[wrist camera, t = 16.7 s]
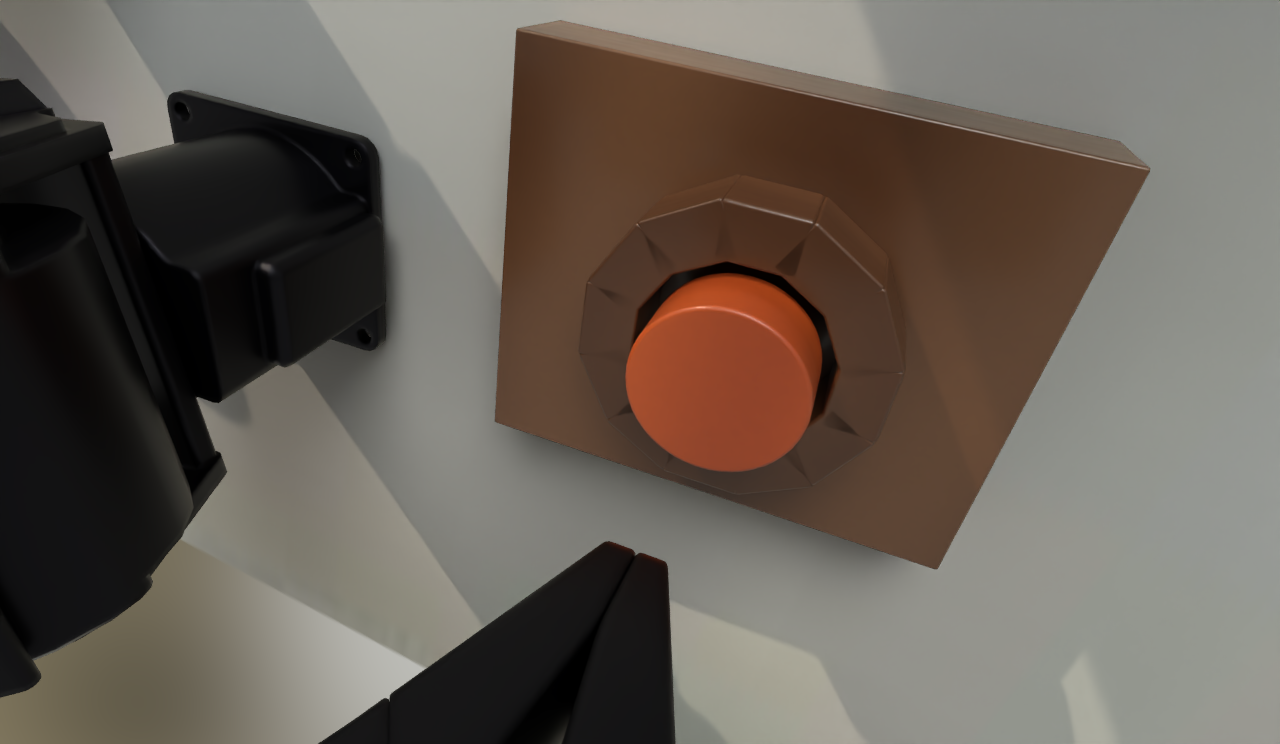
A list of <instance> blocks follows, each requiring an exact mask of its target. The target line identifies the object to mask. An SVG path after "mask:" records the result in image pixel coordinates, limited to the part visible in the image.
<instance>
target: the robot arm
mask: <svg viewBox="0 0 1280 744" xmlns="http://www.w3.org/2000/svg"><path fill="white" fill-rule="evenodd" d="M167 106H168V112H169V117H170V123H171V128H172V133H173V138H174V144H172V145H168V146H164V147H160V148H156V149H152V150H148V151H144V152H140V153H136V154H132V155H128V156H125V157H121V158H117V159H113V160H111V158H110V155H109V152H111V151H113V148H112V146H111V143H110V140H109V137H108V134H107V132H106V129H105V126H104V123H103V122H94V121H81V120H69V119H61V118H58V117H55V114H54V112H53V109H52V108H47V107H46V106H45V105H44V104H43V103H42V102H41V101H40V100H39V99H38V98H37V97H36V96H35V95H34V94H33V93H32V92H31V91H30V90H29V89H28V88H27V87H25V86H24V85H23V84H22V83H21V82H20V81H19V80H18V79H8V78H0V697H4V696H8V695H12V694H16V693H20V692H23V691H26V690H28V689H30V688H32V687H33V686H34V685H36V684H37V683H38V682H39V680H40V679H41V673H40V671H39V670H38V668H37V666H36V665H35V663H34V661H33V660H36V659H38V658H41V657H43V656H46V655H48V654H50V653H53V652H55V651H57V650H59V649H61V648H63V647H65V646H67V645H68V644H70V643H72V642H74V641H77V640H78V639H80V638H82V637H84V636H86V635H87V634H89V633H90V632H92V631H94V630H95V629H97V628H99V627H101V626H102V625H104V624H106V623H108V622H110V621H112V620H113V619H114V618H115V617H117V616H118V615H119V614H121V613H122V612H124V611H125V610H126V609H128V608H129V607H131V606H132V605H133V604H134V603H136V602H137V601H139V600H140V599H141V598H142V597H143V596H144V595H145V594H146V593H147V591H148V590H149V589H150V588H151V586H152V583H153V581H152V579H151V575H152V574H153V572H154V571H155V569H156V568H157V567H158V566H159V564H160V563H161V562H162V560H163V559H164V557H165V556H166V555H167V554H168V552H169V551H170V550H171V549H172V548H173V546H174V545H175V544H176V543H177V542H178V541H179V540H180V538H181V537H182V536H183V533H184V530H185V529H186V528H187V526H188V525H189V524H190V522H191V521H192V519H193V518H194V517H195V515H196V514H197V513H198V511H199V510H200V509H201V507H202V506H203V505H204V503H205V502H206V501H207V499H208V498H209V496H210V495H211V494H212V492H213V491H214V490H215V488H216V487H217V486H218V484H219V483H220V482H221V480H222V479H223V477H224V476H225V475H226V473H227V470H226V467H225V464H224V462H223V459H222V456H221V453H220V452H217V451H215V448H214V446H213V443H212V440H211V437H210V434H209V432H208V429H207V426H206V423H205V420H204V418H203V415H202V412H201V409H200V406H199V404H198V401H197V397H200V398H203V399H205V400H208V401H211V402H214V403H219V402H221V401H222V400H224V399H226V398H227V397H229V396H230V395H232V394H233V393H235V392H236V391H238V390H240V389H241V388H243V387H244V386H246V385H247V384H249V383H250V382H252V381H254V380H255V379H257V378H258V377H260V376H261V375H263V374H264V373H266V372H268V371H269V370H271V369H272V368H274V367H275V366H277V365H279V366H282V367H288V366H291V365H292V364H294V363H295V362H297V361H298V360H300V359H301V358H303V357H304V356H306V355H307V354H309V353H310V352H312V351H313V350H315V349H317V348H318V347H320V346H321V345H323V344H324V343H326V342H327V341H329V340H330V339H332V340H335V341H338V342H341V343H344V344H348V345H351V346H354V347H357V348H360V349H363V350H368V351H371V350H374V349H376V348H377V347H378V346H380V345H381V344H382V343H383V342H384V341H385V338H386V322H385V301H386V291H385V267H384V242H383V226H382V223H381V202H380V178H379V157H378V153H377V150H376V148H375V146H374V144H373V143H372V142H371V141H370V140H369V139H368V138H366V137H364V136H362V135H359V134H355V133H351V132H347V131H343V130H340V129H336V128H332V127H328V126H324V125H321V124H317V123H313V122H309V121H305V120H302V119H298V118H294V117H290V116H286V115H283V114H279V113H275V112H271V111H267V110H264V109H260V108H256V107H252V106H248V105H245V104H241V103H237V102H233V101H229V100H225V99H222V98H218V97H214V96H210V95H206V94H203V93H199V92H195V91H191V90H184V91H179V92H174V93H172V94H171V95H169V98H168V100H167ZM186 106H187V107H186ZM187 108H188V109H189V112H190V113H189V112H188V110H187ZM355 149H356V150H357V151H358V152H359V154H360V156H361V162H359V161H358V159H357V158H356V157H355V153H354V150H355ZM365 330H366V331H368V333H369V334H370V336H371V337H370V336H368V334H367V333H366V331H365ZM319 744H675V720H674V697H673V674H672V651H671V628H670V605H669V582H668V566H667V564H666V562H665V561H663V560H660V559H657V558H654V557H652V556H649V555H646V554H643V553H638V554H637V555H635V552H634V551H633V550H632V549H630V548H627V547H624V546H621V545H619V544H616V543H613V542H610V541H608V542H604V543H602V544H601V545H599V546H598V547H596V548H595V549H594V550H592V551H591V552H589V553H588V554H587V555H585V556H584V557H582V558H581V559H580V560H578V561H577V562H575V563H574V564H573V565H571V566H570V567H568V568H567V569H566V570H564V571H563V572H561V573H560V574H559V575H557V576H556V577H554V578H553V579H551V580H550V581H549V582H547V583H546V584H544V585H543V586H542V587H540V588H539V589H537V590H536V591H535V592H533V593H532V594H530V595H529V596H528V597H526V598H525V599H523V600H522V601H521V602H519V603H518V604H516V605H515V606H514V607H512V608H511V609H509V610H508V611H506V612H505V613H504V614H502V615H501V616H499V617H498V618H497V619H495V620H494V621H492V622H491V623H490V624H488V625H487V626H485V627H484V628H483V629H481V630H480V631H478V632H477V633H476V634H474V635H473V636H471V637H470V638H469V639H467V640H466V641H464V642H463V643H462V644H460V645H459V646H457V647H456V648H454V649H453V650H452V651H450V652H449V653H447V654H446V655H445V656H443V657H442V658H440V659H439V660H438V661H436V662H435V663H433V664H432V665H431V666H429V667H428V668H426V669H425V670H424V671H422V672H421V673H419V674H418V675H417V676H415V677H414V678H412V679H411V680H410V681H408V682H407V683H405V684H404V685H403V686H401V687H400V688H398V689H397V690H395V691H394V692H393V693H392V694H391V695H390V702H389V699H387V698H384V699H382V700H381V701H379V702H378V703H377V704H375V705H374V706H373V707H371V708H370V709H368V710H367V711H366V712H364V713H363V714H361V715H360V716H359V717H357V718H356V719H354V720H353V721H351V722H350V723H348V724H347V725H345V726H344V727H342V728H341V729H339V730H338V731H336V732H335V733H333V734H332V735H331V736H329V737H328V738H326V739H325V740H323V741H322V742H320V743H319Z"/></svg>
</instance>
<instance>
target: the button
mask: <svg viewBox="0 0 1280 744" xmlns="http://www.w3.org/2000/svg"><path fill="white" fill-rule="evenodd" d="M821 369H822V349H821V344H820V339H819V336H818V333H817V331H816V328H815V326H814V324H813V322H812V321H811V319H810V317H809V316H808V314H807V313H806V312H805V310H804V309H803V308H802V307H801V306H800V305H799V303H798V302H797V301H796V300H795V299H793V298H792V297H791V296H790V295H789V294H787V293H786V292H785V291H783V290H782V289H780V288H779V287H777V286H775V285H773V284H771V283H769V282H767V281H765V280H762V279H759V278H756V277H753V276H749V275H744V274H736V273H717V274H711V275H705V276H702V277H699V278H696V279H693V280H691V281H689V282H687V283H685V284H683V285H682V286H680V287H679V288H677V289H676V290H675V291H674V292H673V293H671V294H670V295H669V296H668V297H667V298H666V300H665V301H664V302H663V303H662V304H661V306H660V307H659V309H658V310H657V311H656V313H655V314H654V315H653V317H652V318H651V320H650V321H649V322H648V324H647V325H646V327H645V328H644V329H643V331H642V332H641V333H640V335H639V336H638V338H637V339H636V341H635V343H634V344H633V346H632V349H631V351H630V353H629V356H628V360H627V364H626V374H625V378H626V390H627V395H628V399H629V402H630V405H631V408H632V410H633V412H634V415H635V417H636V419H637V420H638V422H639V423H640V425H641V426H642V428H643V429H644V430H645V432H646V433H647V434H648V435H649V436H650V437H651V438H652V439H653V440H654V441H655V442H656V443H657V444H658V445H659V446H660V447H662V448H663V449H664V450H665V451H667V452H668V453H670V454H671V455H673V456H674V457H676V458H678V459H680V460H682V461H684V462H686V463H689V464H691V465H694V466H696V467H700V468H703V469H707V470H713V471H719V472H743V471H748V470H754V469H757V468H760V467H764V466H766V465H768V464H770V463H773V462H774V461H776V460H778V459H779V458H781V457H782V456H784V455H785V454H786V453H788V452H789V451H790V450H791V449H792V448H793V447H794V446H795V445H796V444H797V443H798V442H799V441H800V439H801V437H802V436H803V434H804V433H805V431H806V429H807V427H808V424H809V422H810V418H811V414H812V410H813V406H814V401H815V397H816V392H817V388H818V383H819V379H820V374H821Z"/></svg>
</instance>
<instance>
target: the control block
mask: <svg viewBox="0 0 1280 744" xmlns="http://www.w3.org/2000/svg"><path fill="white" fill-rule="evenodd" d="M1149 172H1150V168H1149V167H1148V166H1147V165H1146V164H1145V163H1144V162H1142V161H1141V160H1140V159H1139V158H1138V157H1137V156H1136V155H1135V154H1134V153H1132V152H1131V151H1130V150H1129V149H1128V148H1127V147H1126V146H1125V145H1124V144H1122V143H1121V142H1120V141H1116V140H1112V139H1107V138H1102V137H1098V136H1093V135H1088V134H1084V133H1079V132H1075V131H1070V130H1065V129H1061V128H1056V127H1051V126H1047V125H1042V124H1037V123H1033V122H1028V121H1024V120H1019V119H1014V118H1010V117H1005V116H1000V115H996V114H991V113H987V112H982V111H977V110H973V109H968V108H963V107H959V106H954V105H950V104H945V103H940V102H936V101H931V100H926V99H922V98H917V97H912V96H908V95H903V94H899V93H894V92H889V91H885V90H880V89H875V88H871V87H866V86H862V85H857V84H852V83H848V82H843V81H838V80H834V79H829V78H825V77H820V76H815V75H811V74H806V73H801V72H797V71H792V70H788V69H783V68H778V67H774V66H769V65H764V64H760V63H755V62H750V61H746V60H741V59H737V58H732V57H727V56H723V55H718V54H713V53H709V52H704V51H700V50H695V49H690V48H686V47H681V46H676V45H672V44H667V43H663V42H658V41H653V40H649V39H644V38H639V37H635V36H630V35H625V34H621V33H616V32H612V31H607V30H602V29H598V28H593V27H588V26H584V25H579V24H575V23H570V22H565V21H561V20H560V21H555V22H549V23H544V24H538V25H533V26H528V27H522V28H518V29H517V30H516V45H515V63H514V81H513V99H512V118H511V136H510V154H509V172H508V190H507V209H506V227H505V245H504V263H503V282H502V300H501V318H500V336H499V354H498V373H497V391H496V409H495V422H497V423H500V424H503V425H506V426H509V427H512V428H515V429H518V430H521V431H524V432H527V433H530V434H533V435H536V436H539V437H542V438H544V439H547V440H550V441H553V442H556V443H559V444H562V445H565V446H568V447H571V448H574V449H577V450H580V451H583V452H586V453H589V454H592V455H595V456H598V457H601V458H604V459H607V460H610V461H613V462H616V463H619V464H622V465H625V466H628V467H631V468H634V469H637V470H640V471H643V472H646V473H649V474H652V475H655V476H658V477H661V478H664V479H667V480H670V481H673V482H676V483H679V484H682V485H685V486H688V487H691V488H694V489H697V490H700V491H703V492H706V493H709V494H712V495H715V496H718V497H721V498H724V499H727V500H730V501H733V502H736V503H739V504H742V505H745V506H748V507H751V508H753V509H756V510H759V511H762V512H765V513H768V514H771V515H774V516H777V517H780V518H783V519H786V520H789V521H792V522H795V523H798V524H801V525H804V526H807V527H810V528H813V529H816V530H819V531H822V532H825V533H828V534H831V535H834V536H837V537H840V538H843V539H846V540H849V541H852V542H855V543H858V544H861V545H864V546H867V547H870V548H873V549H876V550H879V551H882V552H885V553H888V554H891V555H894V556H897V557H900V558H903V559H906V560H909V561H912V562H915V563H918V564H921V565H924V566H927V567H930V568H933V569H938V567H939V565H940V563H941V562H942V560H943V558H944V556H945V554H946V552H947V550H948V548H949V547H950V545H951V543H952V541H953V539H954V537H955V535H956V533H957V532H958V530H959V528H960V526H961V524H962V522H963V520H964V519H965V517H966V515H967V513H968V511H969V509H970V507H971V505H972V504H973V502H974V500H975V498H976V496H977V494H978V492H979V490H980V489H981V487H982V485H983V483H984V481H985V479H986V477H987V475H988V474H989V472H990V470H991V468H992V466H993V464H994V462H995V460H996V459H997V457H998V455H999V453H1000V451H1001V449H1002V447H1003V445H1004V444H1005V442H1006V440H1007V438H1008V436H1009V434H1010V432H1011V430H1012V429H1013V427H1014V425H1015V423H1016V421H1017V419H1018V417H1019V415H1020V414H1021V412H1022V410H1023V408H1024V406H1025V404H1026V402H1027V400H1028V399H1029V397H1030V395H1031V393H1032V391H1033V389H1034V387H1035V385H1036V384H1037V382H1038V380H1039V378H1040V376H1041V374H1042V372H1043V371H1044V369H1045V367H1046V365H1047V363H1048V361H1049V359H1050V357H1051V356H1052V354H1053V352H1054V350H1055V348H1056V346H1057V344H1058V342H1059V341H1060V339H1061V337H1062V335H1063V333H1064V331H1065V329H1066V327H1067V326H1068V324H1069V322H1070V320H1071V318H1072V316H1073V314H1074V312H1075V311H1076V309H1077V307H1078V305H1079V303H1080V301H1081V299H1082V297H1083V296H1084V294H1085V292H1086V290H1087V288H1088V286H1089V284H1090V282H1091V281H1092V279H1093V277H1094V275H1095V273H1096V271H1097V269H1098V267H1099V266H1100V264H1101V262H1102V260H1103V258H1104V256H1105V254H1106V252H1107V251H1108V249H1109V247H1110V245H1111V243H1112V241H1113V239H1114V237H1115V236H1116V234H1117V232H1118V230H1119V228H1120V226H1121V224H1122V223H1123V221H1124V219H1125V217H1126V215H1127V213H1128V211H1129V209H1130V208H1131V206H1132V204H1133V202H1134V200H1135V198H1136V196H1137V194H1138V193H1139V191H1140V189H1141V187H1142V185H1143V183H1144V181H1145V179H1146V178H1147V176H1148V174H1149ZM717 273H736V274H744V275H749V276H753V277H756V278H759V279H762V280H765V281H767V282H769V283H771V284H773V285H775V286H777V287H779V288H780V289H782V290H783V291H785V292H786V293H787V294H789V295H790V296H791V297H792V298H793V299H795V300H796V301H797V302H798V303H799V305H800V306H801V307H802V308H803V309H804V310H805V312H806V313H807V314H808V316H809V317H810V319H811V321H812V322H813V324H814V326H815V328H816V331H817V333H818V336H819V339H820V344H821V349H822V369H821V374H820V379H819V383H818V388H817V392H816V397H815V401H814V406H813V410H812V414H811V418H810V422H809V424H808V427H807V429H806V431H805V433H804V434H803V436H802V437H801V439H800V441H799V442H798V443H797V444H796V445H795V446H794V447H793V448H792V449H791V450H790V451H789V452H788V453H786V454H785V455H784V456H782V457H781V458H779V459H778V460H776V461H774V462H773V463H770V464H768V465H766V466H764V467H760V468H757V469H754V470H748V471H743V472H719V471H713V470H707V469H703V468H700V467H696V466H694V465H691V464H689V463H686V462H684V461H682V460H680V459H678V458H676V457H674V456H673V455H671V454H670V453H668V452H667V451H665V450H664V449H663V448H662V447H660V446H659V445H658V444H657V443H656V442H655V441H654V440H653V439H652V438H651V437H650V436H649V435H648V434H647V433H646V432H645V430H644V429H643V428H642V426H641V425H640V423H639V422H638V420H637V419H636V417H635V415H634V412H633V410H632V408H631V405H630V402H629V399H628V395H627V390H626V378H625V374H626V364H627V360H628V356H629V353H630V351H631V349H632V346H633V344H634V343H635V341H636V339H637V338H638V336H639V335H640V333H641V332H642V331H643V329H644V328H645V327H646V325H647V324H648V322H649V321H650V320H651V318H652V317H653V315H654V314H655V313H656V311H657V310H658V309H659V307H660V306H661V304H662V303H663V302H664V301H665V300H666V298H667V297H668V296H669V295H670V294H671V293H673V292H674V291H675V290H676V289H677V288H679V287H680V286H682V285H683V284H685V283H687V282H689V281H691V280H693V279H696V278H699V277H702V276H705V275H711V274H717Z"/></svg>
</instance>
